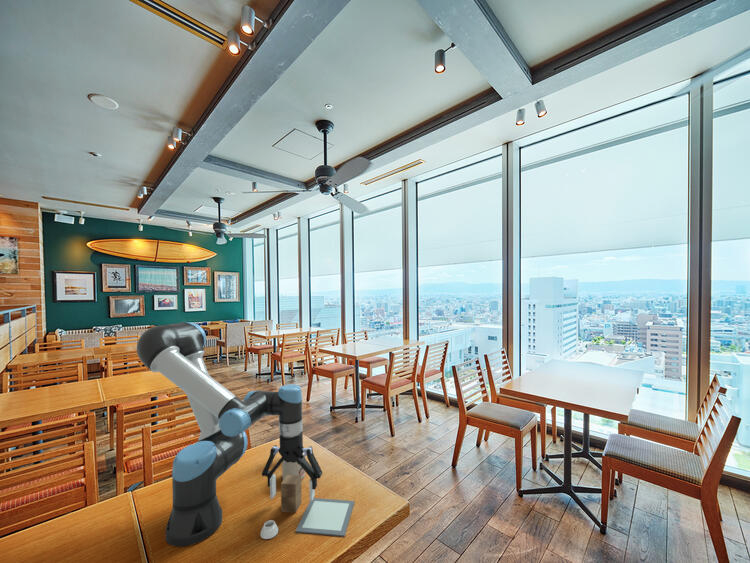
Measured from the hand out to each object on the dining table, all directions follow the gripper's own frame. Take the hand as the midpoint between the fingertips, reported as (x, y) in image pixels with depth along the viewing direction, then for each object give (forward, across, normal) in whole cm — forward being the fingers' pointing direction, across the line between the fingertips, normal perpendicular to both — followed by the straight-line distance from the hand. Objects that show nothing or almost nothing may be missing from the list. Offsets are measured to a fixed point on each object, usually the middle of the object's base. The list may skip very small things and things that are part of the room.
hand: (292, 497), depth 105 cm
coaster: (+3, +12, -3) cm, 13 cm away
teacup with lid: (+3, -6, +18) cm, 19 cm away
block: (+3, 0, 0) cm, 3 cm away
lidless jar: (+4, -2, -12) cm, 12 cm away
